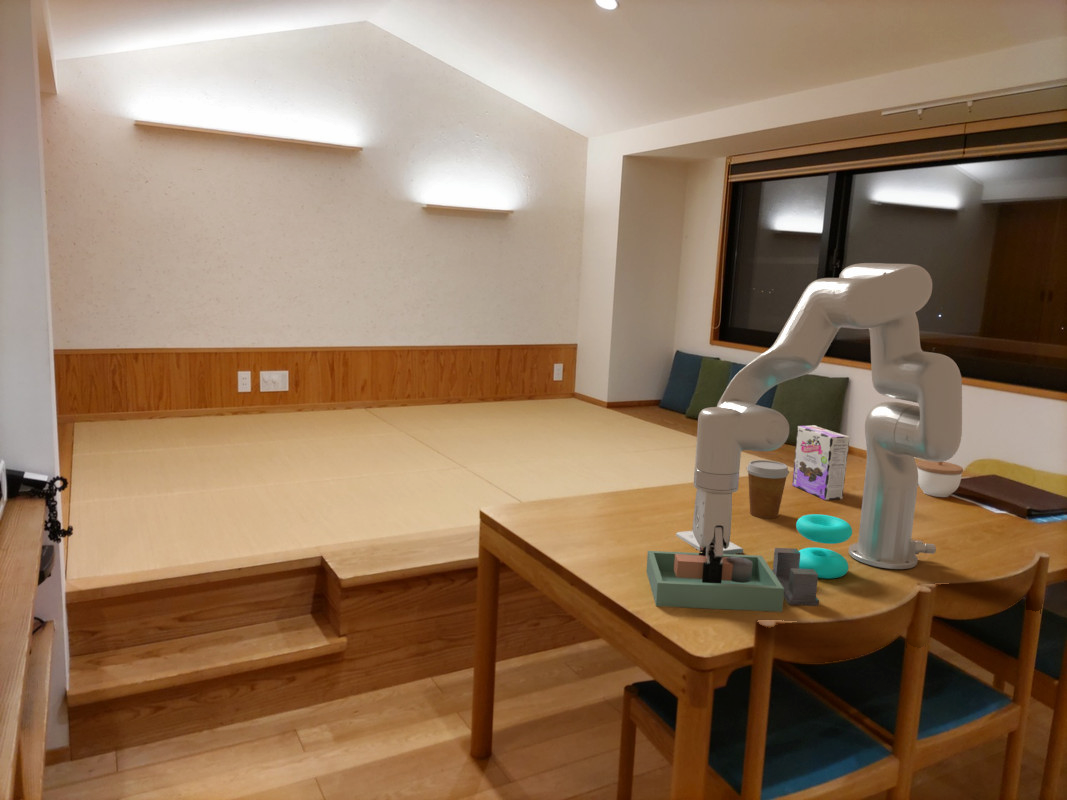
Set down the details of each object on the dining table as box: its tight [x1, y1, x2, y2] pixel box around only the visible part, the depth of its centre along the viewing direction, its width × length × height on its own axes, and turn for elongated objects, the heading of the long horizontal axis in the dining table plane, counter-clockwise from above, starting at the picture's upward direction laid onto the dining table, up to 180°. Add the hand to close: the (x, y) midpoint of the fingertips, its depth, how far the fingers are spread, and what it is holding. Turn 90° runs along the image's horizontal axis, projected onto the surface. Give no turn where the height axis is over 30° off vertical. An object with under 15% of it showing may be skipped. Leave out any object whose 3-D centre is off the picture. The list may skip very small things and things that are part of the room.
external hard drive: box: [675, 530, 744, 555], centre depth 161 cm, size 2×8×12 cm
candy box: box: [791, 424, 851, 501], centre depth 202 cm, size 14×6×16 cm, turn 17°
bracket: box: [771, 547, 820, 607], centre depth 139 cm, size 13×5×6 cm, turn 178°
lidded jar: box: [916, 460, 964, 498], centre depth 204 cm, size 11×11×9 cm
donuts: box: [795, 513, 853, 579], centre depth 148 cm, size 10×10×10 cm
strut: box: [674, 554, 753, 583], centre depth 137 cm, size 13×5×3 cm, turn 88°
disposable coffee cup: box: [746, 459, 790, 519], centre depth 182 cm, size 10×10×12 cm
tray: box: [646, 550, 784, 613], centre depth 138 cm, size 21×15×4 cm
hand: (709, 578), depth 138 cm, fingers open, 3 cm apart
